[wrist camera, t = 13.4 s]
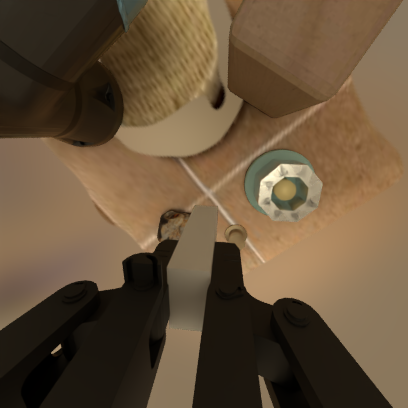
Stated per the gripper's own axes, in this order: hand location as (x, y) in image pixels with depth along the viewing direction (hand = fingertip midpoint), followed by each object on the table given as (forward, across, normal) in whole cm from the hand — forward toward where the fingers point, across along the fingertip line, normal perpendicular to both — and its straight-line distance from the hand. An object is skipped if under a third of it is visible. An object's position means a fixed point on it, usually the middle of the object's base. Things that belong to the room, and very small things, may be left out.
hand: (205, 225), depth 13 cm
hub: (+26, +11, -3) cm, 29 cm away
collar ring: (+24, +11, -3) cm, 27 cm away
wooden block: (+27, +7, +15) cm, 31 cm away
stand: (+26, +4, -14) cm, 30 cm away
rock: (+27, -7, -13) cm, 31 cm away
